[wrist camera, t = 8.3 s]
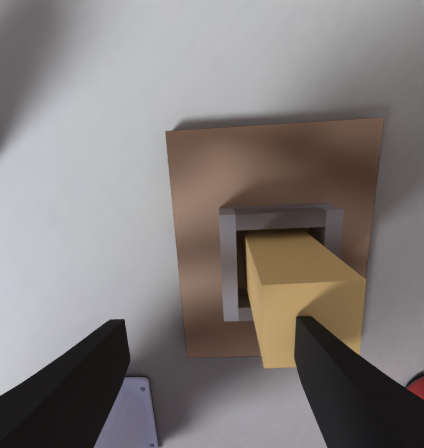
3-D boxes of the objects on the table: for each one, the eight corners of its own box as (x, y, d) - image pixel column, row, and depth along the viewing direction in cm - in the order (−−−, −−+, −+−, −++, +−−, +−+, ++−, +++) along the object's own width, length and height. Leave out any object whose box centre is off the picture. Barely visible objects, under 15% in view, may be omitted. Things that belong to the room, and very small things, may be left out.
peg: (298, 277, 18) (358, 365, 10) (245, 280, 18) (263, 368, 10) (299, 226, 17) (366, 279, 9) (242, 230, 17) (262, 285, 9)
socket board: (349, 343, 20) (376, 381, 17) (188, 346, 21) (182, 384, 18) (372, 120, 16) (415, 108, 12) (169, 133, 17) (155, 125, 13)
